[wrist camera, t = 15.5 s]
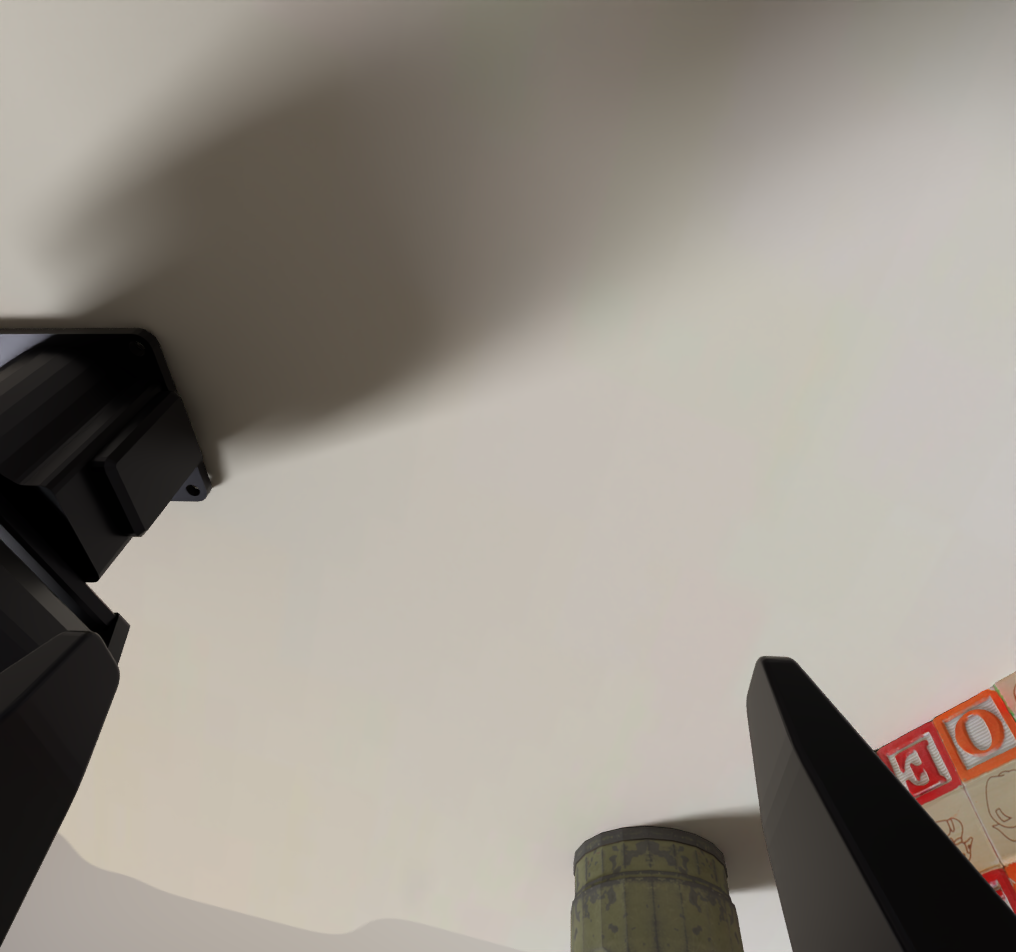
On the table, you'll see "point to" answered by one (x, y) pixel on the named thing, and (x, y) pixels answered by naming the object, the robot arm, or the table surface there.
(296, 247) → the table surface
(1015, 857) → the stack of blocks
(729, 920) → the thermos
